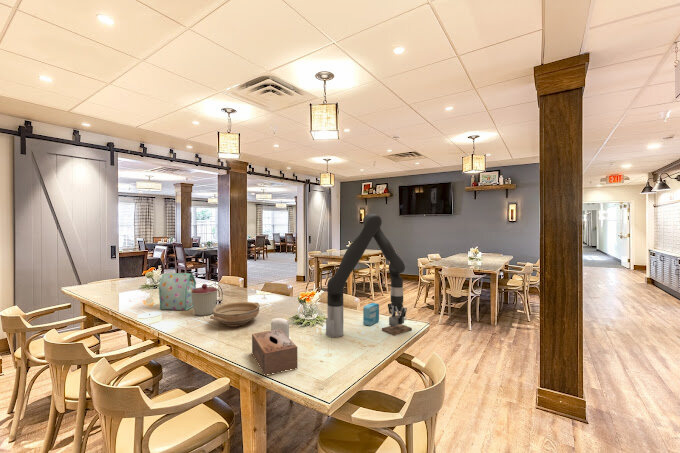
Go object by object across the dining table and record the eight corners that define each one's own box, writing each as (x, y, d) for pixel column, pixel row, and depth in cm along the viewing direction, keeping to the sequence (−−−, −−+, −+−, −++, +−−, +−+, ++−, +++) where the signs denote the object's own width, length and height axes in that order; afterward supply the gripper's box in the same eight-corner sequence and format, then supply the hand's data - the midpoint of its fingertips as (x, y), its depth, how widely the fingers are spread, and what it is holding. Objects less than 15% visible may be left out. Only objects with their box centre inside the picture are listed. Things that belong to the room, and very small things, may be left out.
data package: (369, 326, 194) (369, 307, 193) (363, 325, 196) (363, 306, 196) (379, 321, 203) (379, 303, 203) (373, 320, 206) (373, 302, 206)
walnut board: (393, 335, 178) (393, 332, 178) (381, 330, 186) (381, 327, 186) (411, 330, 187) (411, 327, 187) (399, 325, 195) (399, 323, 195)
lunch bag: (198, 305, 243) (198, 271, 242) (186, 311, 226) (185, 274, 226) (170, 304, 245) (170, 270, 245) (156, 310, 229) (156, 274, 228)
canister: (212, 317, 212) (211, 286, 212) (185, 317, 212) (185, 286, 212) (222, 310, 230) (222, 281, 230) (198, 310, 230) (197, 281, 230)
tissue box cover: (297, 369, 138) (297, 346, 138) (265, 376, 132) (264, 353, 132) (280, 348, 161) (280, 329, 161) (252, 353, 155) (252, 333, 154)
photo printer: (290, 340, 171) (290, 318, 171) (286, 343, 167) (286, 320, 167) (273, 338, 174) (273, 316, 174) (269, 341, 170) (269, 318, 170)
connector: (402, 320, 192) (401, 314, 192) (407, 322, 188) (407, 315, 188) (387, 324, 185) (387, 317, 185) (392, 326, 181) (392, 319, 181)
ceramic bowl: (228, 336, 177) (228, 318, 177) (196, 327, 192) (196, 311, 191) (273, 318, 210) (273, 303, 209) (242, 312, 224) (242, 298, 224)
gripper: (410, 295, 182) (410, 324, 182) (392, 291, 194) (393, 318, 194) (401, 297, 178) (401, 327, 178) (384, 292, 190) (384, 320, 190)
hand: (397, 322), depth 186 cm, fingers closed on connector, 4 cm apart
